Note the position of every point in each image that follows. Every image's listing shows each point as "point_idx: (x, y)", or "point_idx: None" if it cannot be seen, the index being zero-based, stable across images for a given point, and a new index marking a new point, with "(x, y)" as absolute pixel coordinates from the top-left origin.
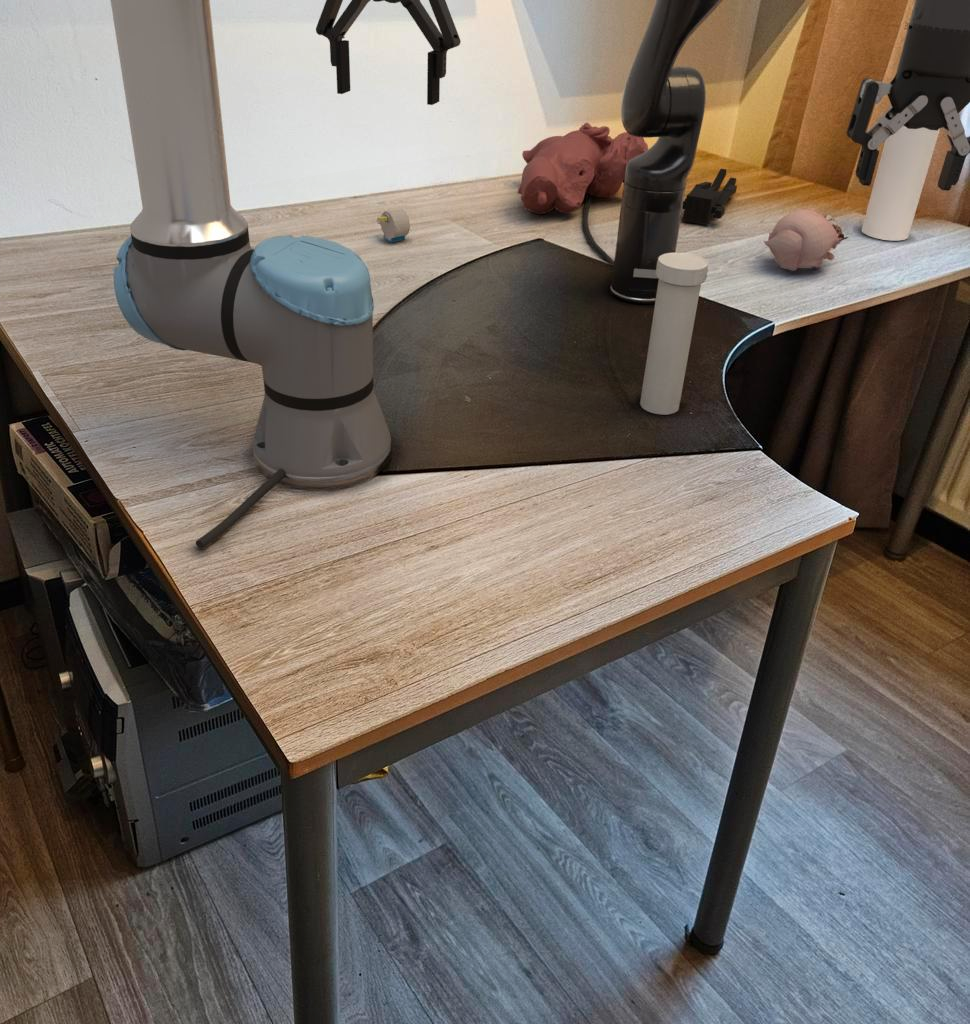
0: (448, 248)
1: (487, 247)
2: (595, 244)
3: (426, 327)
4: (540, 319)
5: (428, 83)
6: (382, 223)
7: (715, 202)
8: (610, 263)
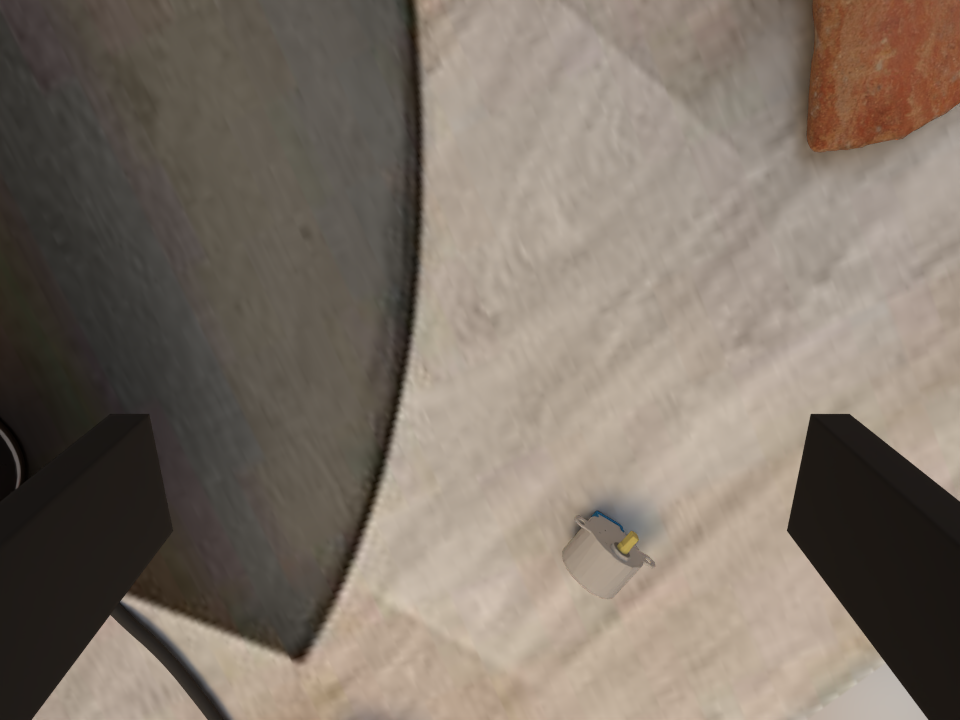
0: (460, 534)
1: (382, 573)
2: (157, 654)
3: (288, 31)
4: (70, 212)
5: (52, 488)
6: (634, 551)
7: None
8: None
